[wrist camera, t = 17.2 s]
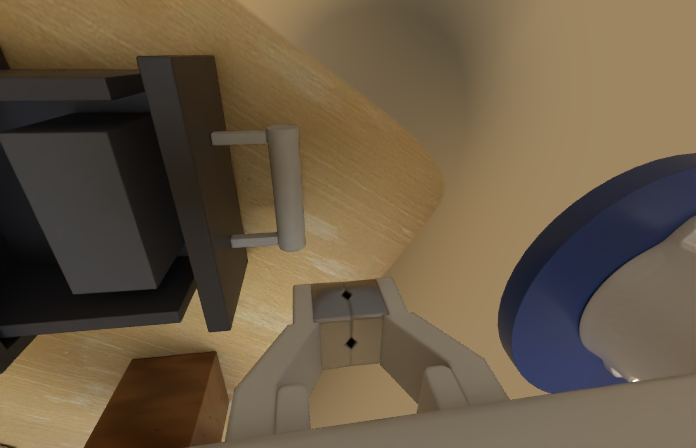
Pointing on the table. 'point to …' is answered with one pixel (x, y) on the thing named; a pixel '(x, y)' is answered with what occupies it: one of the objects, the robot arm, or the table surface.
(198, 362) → the stand
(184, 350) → the table surface
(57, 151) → the dark grey rectangular box
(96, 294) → the drawer
